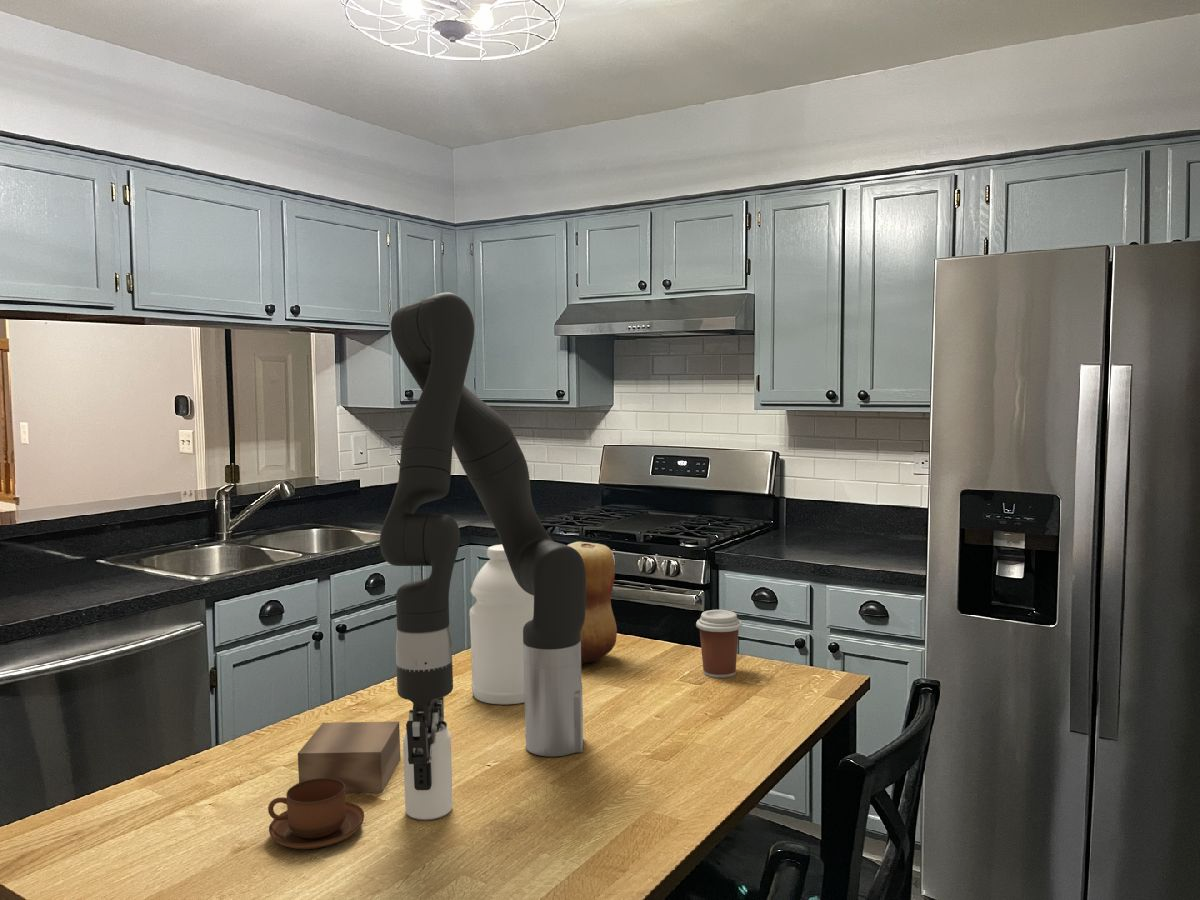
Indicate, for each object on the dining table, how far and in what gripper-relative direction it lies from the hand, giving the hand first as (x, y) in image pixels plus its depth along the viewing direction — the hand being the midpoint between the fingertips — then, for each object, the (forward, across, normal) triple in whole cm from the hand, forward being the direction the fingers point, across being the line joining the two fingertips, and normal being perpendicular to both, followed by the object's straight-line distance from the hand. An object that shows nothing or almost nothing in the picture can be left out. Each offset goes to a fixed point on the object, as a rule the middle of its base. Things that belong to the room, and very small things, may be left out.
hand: (428, 777), depth 128 cm
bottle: (+5, +48, -6) cm, 49 cm away
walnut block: (+5, +12, +14) cm, 19 cm away
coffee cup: (+5, +58, -47) cm, 75 cm away
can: (+5, 0, 0) cm, 5 cm away
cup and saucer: (+5, -6, +14) cm, 16 cm away
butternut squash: (+5, +67, -20) cm, 70 cm away
